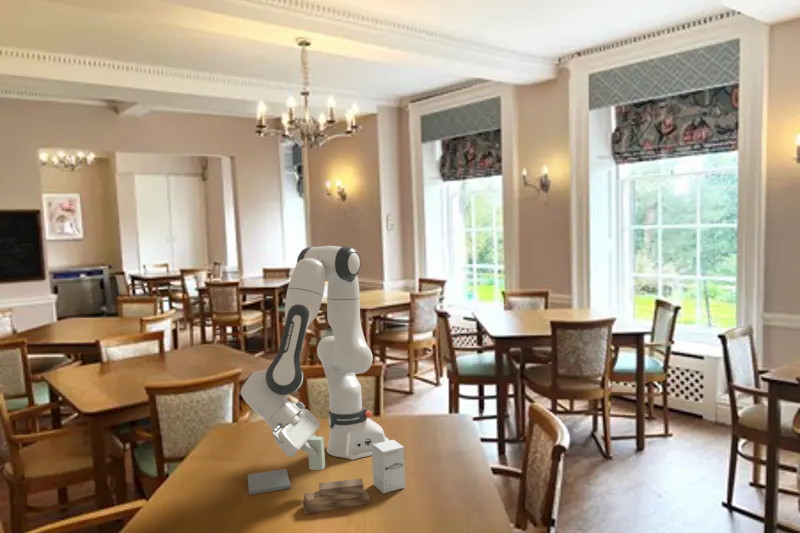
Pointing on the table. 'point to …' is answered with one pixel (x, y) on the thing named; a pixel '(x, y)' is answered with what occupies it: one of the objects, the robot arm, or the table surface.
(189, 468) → the table surface
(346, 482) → the offcut stack
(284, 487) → the slate mat
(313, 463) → the tall block
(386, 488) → the supplement box
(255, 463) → the table surface
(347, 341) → the robot arm
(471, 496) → the table surface
